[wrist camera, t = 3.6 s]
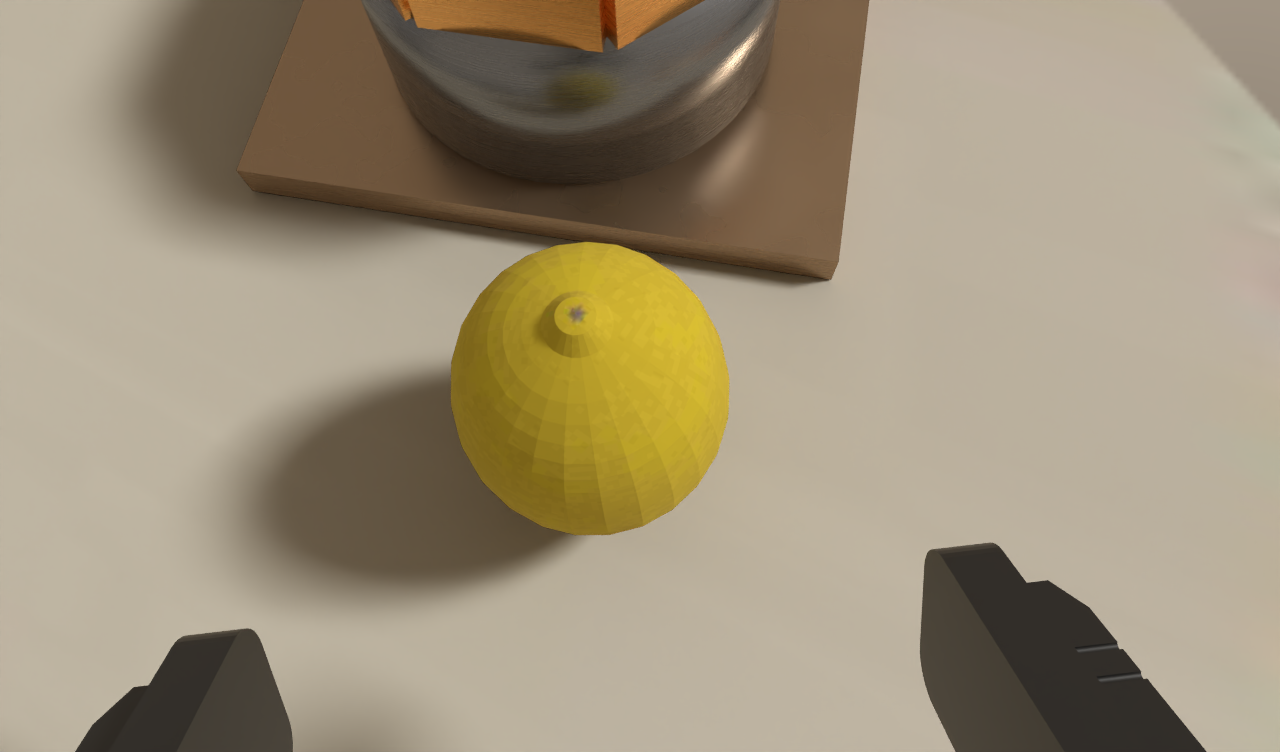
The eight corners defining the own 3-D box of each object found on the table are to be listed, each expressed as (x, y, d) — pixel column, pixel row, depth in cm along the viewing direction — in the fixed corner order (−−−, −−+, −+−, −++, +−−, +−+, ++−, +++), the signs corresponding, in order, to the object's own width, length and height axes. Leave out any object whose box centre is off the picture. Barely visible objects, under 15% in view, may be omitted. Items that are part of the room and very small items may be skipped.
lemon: (687, 586, 20) (705, 523, 13) (461, 528, 21) (351, 433, 13) (737, 370, 22) (779, 202, 15) (529, 322, 23) (465, 136, 15)
